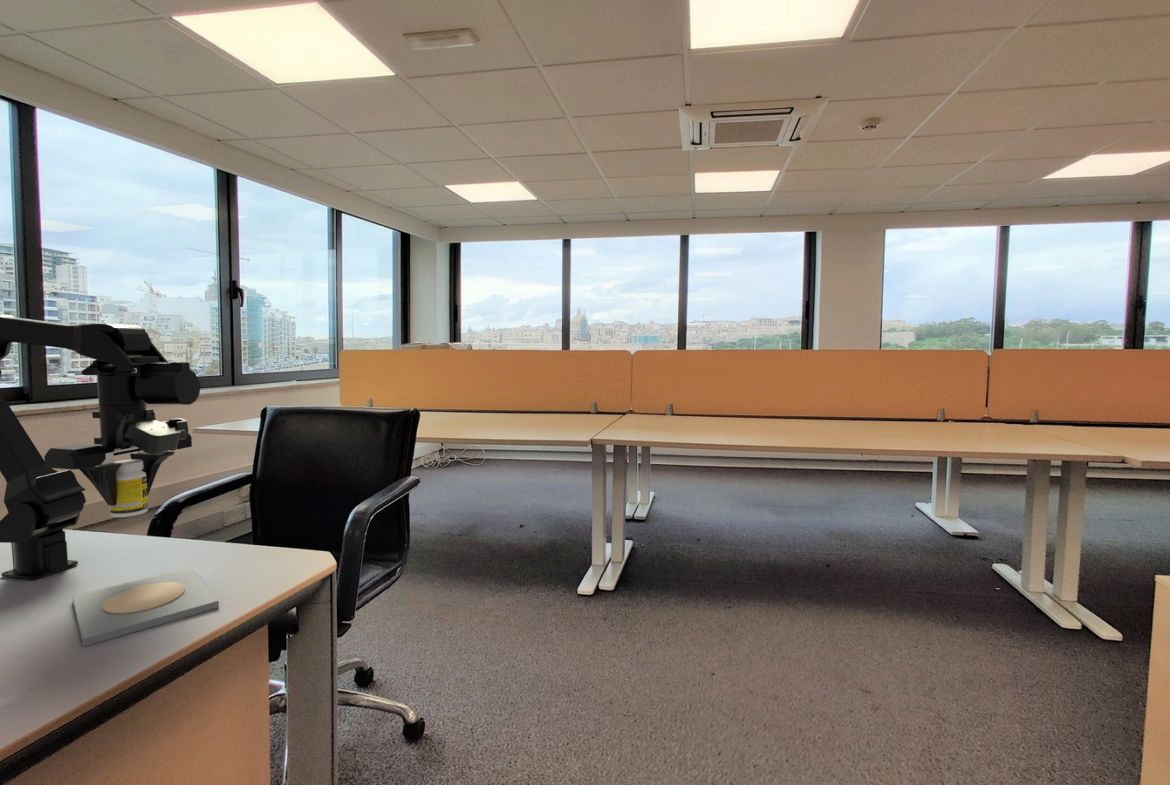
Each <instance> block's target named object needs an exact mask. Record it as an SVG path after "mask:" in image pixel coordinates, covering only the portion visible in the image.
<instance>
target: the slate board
mask: <svg viewBox="0 0 1170 785" xmlns="http://www.w3.org/2000/svg"><path fill="white" fill-rule="evenodd" d="M219 601H220V600H219V599H218V598H217V597H216V595H215V594H214V593H213V592H212V591H211V589H210V588H209V587H208V585H207V584H206V583H205V581H204V580H203V579H202V577H200V575H199V574H198V573H197V571H196V570H195V569H194V568H193V567H188V568H183V569H180V570H175V571H172V572H168V573H164V574H163V573H162V574H159V575H155V576H150V577H147V578H142V579H137V580H134V581H129V582H125V583H121V584H115V585H113V586H108V587H105V588H99V589H95V590H92V591H91V590H90V591H87V592H83V593H78V594H74V595H72V604H73V609H74V614H75V618H76V622H77V626H78V630H79V634H80V638H81V642H82V647H83V648H84V647H86V646H90V645H94V644H97V643H101V642H104V641H105V642H106V641H109V640H112V639H114V638H115V639H116V638H119V637H121V636H125V635H129V634H132V633H135V632H139V631H142V630H143V631H144V630H145V629H150V628H152V627H156V626H160V625H163V624H166V623H170V622H173V621H177V620H181V619H184V618H187V617H188V618H189V617H190V616H194V615H197V614H201V613H204V612H208V611H211V610H216V609H218V608H220V602H219Z"/></svg>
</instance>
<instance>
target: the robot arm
mask: <svg viewBox="0 0 1170 785" xmlns="http://www.w3.org/2000/svg"><path fill="white" fill-rule="evenodd" d="M13 343H19V344H25V345H35V346H42V347H52V348H58V349H66V350H69V351H73V352H75V353H77V354H78V355H80V356H83V357H86V358H89V359H93V361H92V362H91V364H90V365H88V366H87V367H85V368H84V369H83V370H81V372H80V373H81V375H83V376H96V381H97V395H98V396H97V400H98V410H96V411H91V413H92V419H99V429H100V430H99V432H100V436H98V437H93V444H80V443H79V444H78V443H74V444H69V445H61V446H55V447H50V448H49V449H48V451H46V453H45V454H44V457H43V456H42V455H41V452H39V450H38V449H37V447H36V445H35V444H34V442H33V441H32V439H31V438H30V436H29V435H28V432H27V431H26V430H25V427H24V426H23V425H22V423H21V422H20V420H19V419H18V417H17V416H16V414H15V412H14V411H13V409H12V407H11V406H10V405H9V403H8V402H7V400H6V399H5V398H4V395H3V394H2V392H1V391H0V473H1V475H2V476H3V478H4V480H5V482H6V485H5V486H6V487H5V492H4V497H3V503H4V506H5V507H6V509H7V514H6V515H4V516H3V518H2V519H1V520H0V543H3V544H4V543H6V544H8V543H9V544H11V545H10V546H11V552H12V553H11V555H12V556H11V558H12V569H10V570H6V571H3V572H1V573H0V574H1V577H3V578H4V577H5V578H13V579H22V580H29V581H30V580H31V581H33V580H37V579H39V578H43V577H45V576H49V575H51V574H53V573H56V572H60V571H62V570H65V569H68V568H70V567H74V566H76V565H79V561H78V560H72V559H69V557H68V542H67V540H66V530H65V529H67V528H69V527H73V526H76V525H77V524H78V521H79V518H80V515H81V513H82V511H83V509H84V506H85V504H86V503H87V500H86V496H85V494H84V492H85V491H86V489H85V487H83V485H81V484H80V482H78V480H77V477H76V475H75V473H74V472H73V471H72V470H80V472H81V473H82V474H83V475H84V476H85V477H86V478H87V480H89V481H90V482H91V484H92V486H93V487H94V489H96V491H97V492H98V493H99V495H100V496H101V497H102V499H103V500H104V502H105V503H106V505H108V506H114V505H116V501H117V485H116V472H117V471H118V469H119V468H120V466H121V465H122V463H114V462H115V456H120V455H125V454H129V455H130V460H134V459H138V460H143V466H144V467H143V469H142V470H141V471H143V472H145V473H146V476H147V495H148V496H149V494H150V492H151V489H152V486H153V485H154V484H153V483H154V480H155V479H156V476H157V473H158V471H159V469H160V467H161V465H162V463H163V462H165V460H167V459H168V458H169V457H171V456H174V454H175V453H176V452H175V451H177V450H182V449H183V450H184V449H187V448H193V443H192V442H193V441H192V437H193V436H192V435H191V433H189V425H188V420H187V419H184V418H182V417H178V418H171V419H169V420H168V421H167V420H164V421H159V420H157V418H156V412H155V411H154V409H152V408H151V409H148V408H147V405H164V406H165V405H170V406H171V405H175V406H177V405H178V406H179V405H180V406H188V405H192V404H194V403H195V402H196V400H198V398H199V396H200V393H201V392H200V391H201V382H200V381H199V378H198V376H197V374H196V373H195V371H193V370H192V369H191V363H190V362H189V361H175V362H174V361H172V362H168V360H167V359H166V358H165V357H164V356H163V354H162V353H161V352H160V350H159V349H158V348H157V347H156V346H155V345H154V343H153V342H152V341H151V338H150V336H149V334H148V332H147V331H146V329H145V328H143V327H142V326H140V325H137V324H136V325H135V324H120V323H119V324H116V323H114V324H113V323H89V324H88V323H87V324H86V323H84V324H71V323H64V322H63V323H61V322H56V321H55V322H54V321H47V320H39V319H30V318H22V317H16V316H14V315H10V314H2V313H1V314H0V362H1V361H2V360H4V359H5V358H6V357H7V356H8V355H10V351H11V349H12V348H11V347H12V344H13ZM1 378H2V370H1V368H0V379H1ZM55 469H58V470H59V469H60V470H62V469H63V470H62V471H58V470H55Z"/></svg>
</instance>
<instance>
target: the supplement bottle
mask: <svg viewBox="0 0 1170 785" xmlns="http://www.w3.org/2000/svg"><path fill="white" fill-rule="evenodd" d="M114 463H122V465H121V466H120V468H119V469H118V471H117V472H116V485H117V501H116V505H114V506H109V505H108V506H109V509H108V510H109V515H110V517H113V518H126V517H127V518H128V517H135V516H138V515H142V514H144V513H145V514H146V512H148V510H149V499H148V498H149V497H148V496H149V495H147V476H146V473H145V472H143V471H141V470H142V469H143V467H144V466H143V460H138V459H134V460H131V459H124V460H117V461H114Z"/></svg>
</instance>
